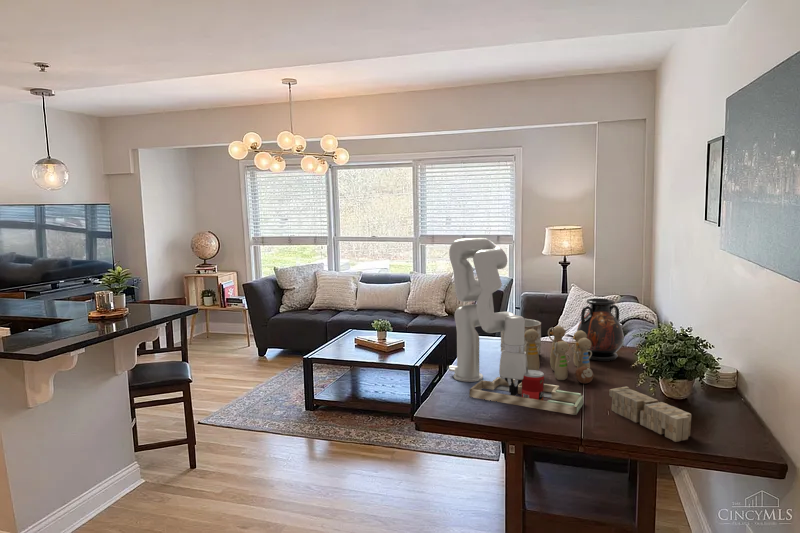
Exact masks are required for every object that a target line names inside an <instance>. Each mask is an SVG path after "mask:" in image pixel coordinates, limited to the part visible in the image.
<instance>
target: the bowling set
mask: <svg viewBox="0 0 800 533" xmlns="http://www.w3.org/2000/svg"><path fill="white" fill-rule="evenodd" d="M565 335H566V329H565V328H564V327H563V326H561V325H557V326H555V327H550V328H549V329H548V330H547V336H548V338H549V339H550V341H552V344H551V350H550V355H549V356H550V357H549V364H550V368H551V369H552V371H554V377H555V378H556V380H558V381H565V380H566V379H567V378H568V375H569V368H568V367H569V366H568V364H569V363H570V362H571V360H572V359H571V356H570V354H568V353H567V352H568V351H569V350H570V346H571V344H569V343H568V342H567V341H565V340H564V339H563V337H564V336H565ZM538 336H539V334H538V332H537V331H536V330H534V329H529V330H527V331H526V332H525V334H524V337H525V339H526V340H527V344H525V346H524V352H526V355H527V362H528V370H537V371H540V354H539V355H538V350H539V349H540V347H541V348H542V343H541V344H540V342H535V340H536V339H537V338H538ZM551 336H553V337H554V338H552V337H551ZM572 340H575V343H574V344H573V343H572V346H571V351H572V352H573V364H574V367H576V370H575V373H574V375H575V378H576V380H577V381H578V382H579V383H581V384H585V385H586V384H589V383H591V382H592V381H593V379H594V372H593V370H592V368H591V362H590V359H589V358H590V357H591V356H592V352H591V351H590V350H588V349H589V348H590V347H591V341H590V340H589V339H587V334H586V333H585V332H584V331H581V330H580V331H577V330H576V332H575V333H574V334H573V338H572ZM536 344H539V347H538V349H537V346H536ZM525 347H526V348H525ZM588 352H590V353H591V354H590V356H589V355H588ZM567 357H568V360H567Z"/></svg>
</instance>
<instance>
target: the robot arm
mask: <svg viewBox="0 0 800 533" xmlns="http://www.w3.org/2000/svg"><path fill="white" fill-rule="evenodd" d="M448 256H449V261H450V264H451V267H452V272H453V281H454V290H455V296H456V299H457V300H458V302H459V301H460V302H461V303H468V302H469V303H470V302H476V303H474V304H473V303H472V304H466V305H465V304H464V305H461V306H459V307H457V309H456V310H455V311H454V322H455V326H456V365H449V366H448V370H449V372H454V373H453V379H454V380H456V381H459V382H466V383H474V382H480V381H481V380H484V379H483V378H484V375H483V373H481V372H480V335H479V333H478V331H477V330H476V327H481V329H482V331H484V332H485V333H487V334H493V333H499V332H500V333H501V331H504V343H503V344H501V343H500V348H501V347H503V348H504V350H503V351H502V352H501V354H500V358H499V370H498V371H499V372H498V373H499V374H498V375H499V377H500V378H502V379H504V380H506V381H507V383H508V385H509V391H508V392H509V393H510V394H509V395H512V396H517V395H519V394H518V385H519V384H520V383H521V382H522V380H523V378H524V374H526V373H527V372H528V362H527V355H526V352H524V334H525V320H524V319H525V317H523V316H521V315H518V314H514V313H513V312H510V311H499V312H495V308H494V298H493V294H494V293H495V292H497V291H498V290H500V289H501V288H502V286H503V284H502V280H501V277H500V273H499V270H502V269H503V270H504V269H505V268H506V267H507V265H508V256H507V254H506V252H505V251H504V250H503V249H502V248H501V247H500V246H498V245H497V244H496V243H495V242H493V241H492V240H490V239H489V238H486V237H471V238H470V237H469V238H468V237H466V238H464V237H463V238H459V239H456V240H454V241H453V242H452V243H451V244H450V247H449V253H448ZM468 259H472V262H473V265H474V266H472V264H471V263H470V262H469V260H468ZM473 268H474V269H475V270H474V269H473ZM474 271H475V273H474ZM474 274H476V276H477V278H475V275H474ZM513 379H515V382H514V383H513Z"/></svg>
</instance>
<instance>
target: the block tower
mask: <svg viewBox="0 0 800 533" xmlns="http://www.w3.org/2000/svg"><path fill="white" fill-rule="evenodd" d="M608 392H609V395H608V396H609V397H611V399H612V400H611V412H614V413H615V414H616V415H619V416H621V417H624V418H625V419H628V420H630V421H632V422H633V423H639V425H641V426H643V427H644V428H647V429H648V430H651V431H653V432H654V433H656V434H659V435H664V437H665V438H667V439H670V440H672V441H673V442H675V443H676V442H681V441H688V440H689V437H691V425H692V413H690V412H688V411H685V410H683V409H680V408H678V407H676V406H673V405H670V404H668V403H665V402H663V401H660V402H659V399H656V398H654V397H651V396H649V395H647V394H644V393H641V392H639V391H636V390H634V389H631V388H630V387H629V386H622V387H621V386H620V387H615V388H611V389H609V391H608Z"/></svg>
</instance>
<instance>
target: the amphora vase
mask: <svg viewBox="0 0 800 533" xmlns="http://www.w3.org/2000/svg"><path fill="white" fill-rule="evenodd" d="M586 303H587V304H588V305H589V306H588V305H585V306H583V307H582V309H581V312H580V314H581V315H580V322H579V324H578V326H577V328H576V332H577V331H580V330H581V331H584V332H585V333H586V334H587V339H589V340H590V341H591V347H590V348H589V349H588V350H590V351H591V352H592V356H591V357H590V358H589V361H590V360H591V361H597V362H611V361H614V360H616V359H617V358H618V357H619V356H618V353H617V352H618V351H619V350H620V349H621V348H622V346H623V343H624V339H625V338H624V337H625V336H624V330H623V327H622V325H621V323H620V309H619V307H618V305H616V304H615V303H616V302H615V300H614V299H613V300H612V299H609V298H599V297H597V298H596V297H595V298H589V299H587V300H586ZM613 309H614V310H615V315H614V314H612V310H613ZM586 310H588V311H589V312H587V314H586ZM585 314H586V315H585ZM590 354H591V353H590V352H588V355H589V356H590ZM610 360H611V361H610Z"/></svg>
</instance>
